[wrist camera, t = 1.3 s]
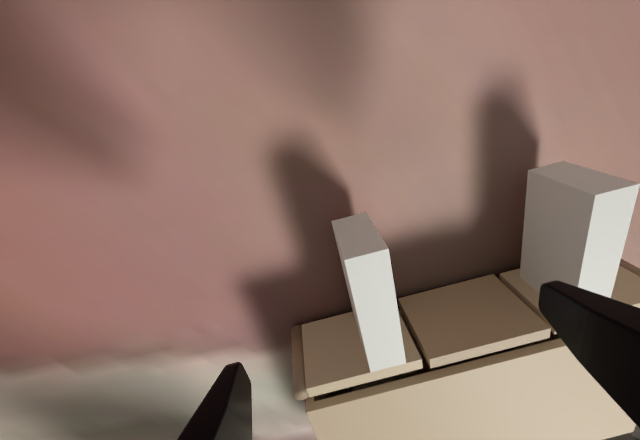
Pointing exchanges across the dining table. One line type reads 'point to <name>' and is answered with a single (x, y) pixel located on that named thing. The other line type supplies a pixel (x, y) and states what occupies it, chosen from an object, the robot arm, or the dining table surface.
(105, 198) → the dining table surface
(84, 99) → the dining table surface
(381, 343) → the flap
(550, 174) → the flap
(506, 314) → the carton
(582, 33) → the dining table surface
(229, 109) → the dining table surface
